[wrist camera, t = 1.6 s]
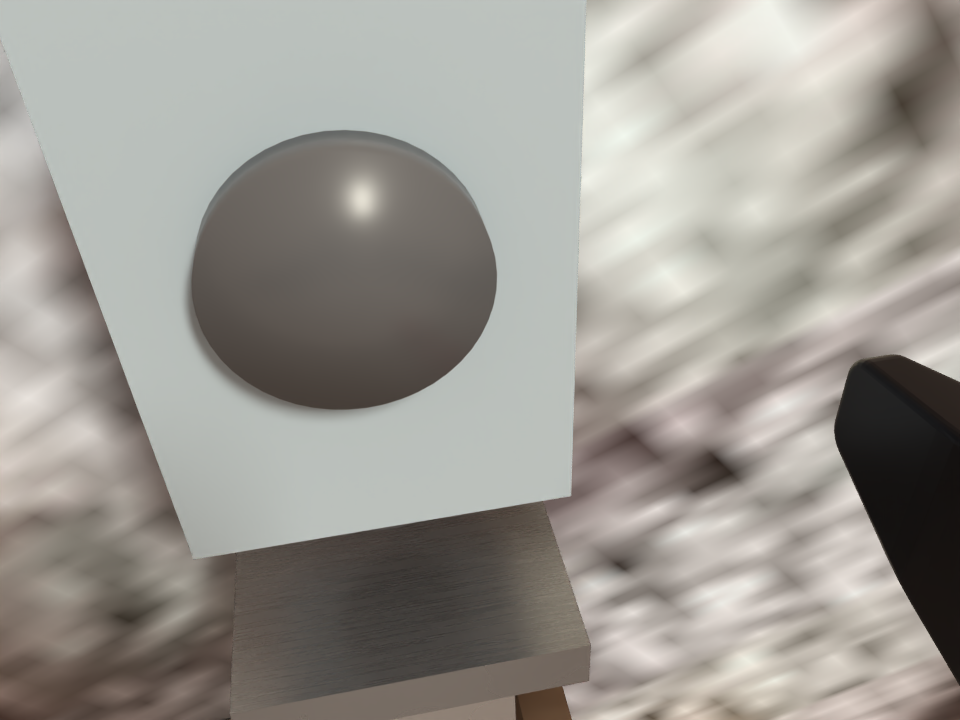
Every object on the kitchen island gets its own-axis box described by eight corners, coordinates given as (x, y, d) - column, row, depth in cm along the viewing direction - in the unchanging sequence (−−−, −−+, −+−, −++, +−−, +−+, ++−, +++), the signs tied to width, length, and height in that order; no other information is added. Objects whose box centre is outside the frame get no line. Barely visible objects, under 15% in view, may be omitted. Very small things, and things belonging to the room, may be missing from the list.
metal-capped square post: (522, 440, 18) (590, 644, 14) (527, 701, 23) (576, 894, 20) (143, 502, 17) (105, 738, 13) (246, 756, 23) (241, 970, 19)
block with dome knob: (481, -149, 12) (605, -55, 7) (499, 362, 17) (578, 595, 12) (86, -118, 11) (-36, 6, 7) (232, 401, 16) (217, 661, 12)
